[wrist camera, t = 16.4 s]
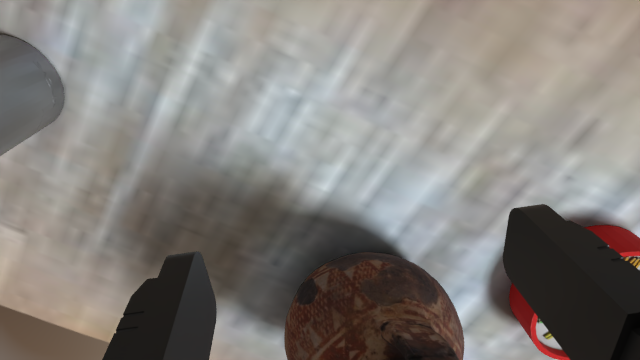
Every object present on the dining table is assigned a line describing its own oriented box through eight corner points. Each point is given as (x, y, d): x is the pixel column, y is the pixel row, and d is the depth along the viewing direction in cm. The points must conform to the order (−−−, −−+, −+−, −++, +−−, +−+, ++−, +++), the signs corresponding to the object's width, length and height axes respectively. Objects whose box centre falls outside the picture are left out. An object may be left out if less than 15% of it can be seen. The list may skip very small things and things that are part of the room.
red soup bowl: (697, 234, 47) (664, 343, 56) (655, 209, 52) (632, 312, 62) (533, 273, 48) (528, 374, 57) (508, 243, 53) (507, 340, 62)
